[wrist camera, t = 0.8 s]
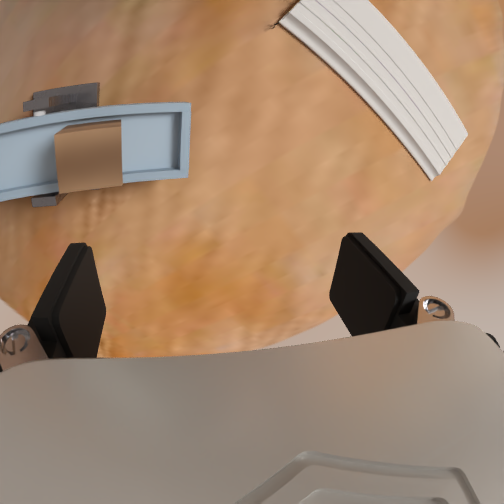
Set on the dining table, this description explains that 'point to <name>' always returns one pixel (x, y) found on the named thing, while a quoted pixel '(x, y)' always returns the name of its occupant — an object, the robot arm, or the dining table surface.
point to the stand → (60, 102)
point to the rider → (89, 156)
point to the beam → (47, 125)
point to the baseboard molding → (382, 75)
